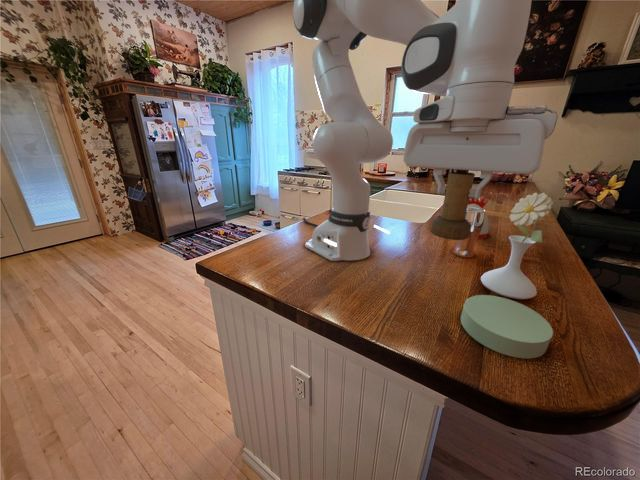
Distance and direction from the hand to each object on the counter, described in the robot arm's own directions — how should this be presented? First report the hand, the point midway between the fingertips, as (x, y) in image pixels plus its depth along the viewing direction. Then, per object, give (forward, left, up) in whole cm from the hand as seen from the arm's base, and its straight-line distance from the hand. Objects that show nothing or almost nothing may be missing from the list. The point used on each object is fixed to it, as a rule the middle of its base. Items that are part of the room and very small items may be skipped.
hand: (456, 196), depth 45 cm
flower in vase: (+11, +21, -26) cm, 35 cm away
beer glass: (-3, +39, -26) cm, 47 cm away
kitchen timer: (-7, +63, -26) cm, 68 cm away
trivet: (+12, +4, -26) cm, 28 cm away
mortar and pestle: (0, 0, -7) cm, 7 cm away
